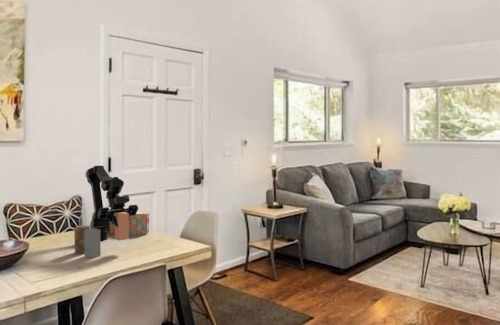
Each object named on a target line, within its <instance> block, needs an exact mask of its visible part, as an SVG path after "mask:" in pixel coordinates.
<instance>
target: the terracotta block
mask: <svg viewBox="0 0 500 325" xmlns="http://www.w3.org/2000/svg"><path fill="white" fill-rule="evenodd" d="M114 215H115V218H116V221H117V223H118V227H116V226H115V235H114V239H115V240H117V241H125V240H129V239H130V235H129V213H127V212H118V213H115V214H114Z"/></svg>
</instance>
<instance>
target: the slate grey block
mask: <svg viewBox="0 0 500 325" xmlns="http://www.w3.org/2000/svg"><path fill="white" fill-rule="evenodd" d="M101 250H102V249H101V241H100V229H95V228H92V229H87V230H85V254H84V257H85V256H86V258H89V257H90V258H89V259H94V258H98V257H101V256H102V255H101V253H102V252H101ZM93 257H94V258H93Z"/></svg>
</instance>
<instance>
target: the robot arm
mask: <svg viewBox="0 0 500 325" xmlns="http://www.w3.org/2000/svg"><path fill="white" fill-rule="evenodd" d="M85 178H86V181H87V182H88V184H89V186H90V188H91V194H92V200H93V201H92V202H93V210H94V212H93V213H94V214H93V213H92V214H93V215H91V221H90V223H89V226H90V229H92V228H95V229H100V242H102V241H106V240H108V239H109V237H107V236H108V235H107V234H108V233H107V231H106V228H108V227H109V221H110V222H112V223H113V224H114V225H115V226H116V227H118V223H117V221H116V218H115V213H118V212H127V213H129V217H130V216H133V215H136V213H137V212H139V207H138V206H139V205H138V204H130V205H128V208H127V207H126V208H124V207H125V206H126V204H127V203H129V201H130V196H129V194H125V195H124V196H123V195H121V196H120V194H121V192H122V189H123V187H124V185H125V182H124V180H122V179H121V178H119V177H118V176H113V177H112V176H110V175H109V173H108V172H107V170H106V169H105V166H104V165H94V166H93V167H90V168H88V169H87V170H86V171H85ZM101 189H102V190H101ZM102 191H103V192H106V197H105V198H106V199H107V201H108V204H109V205H108V207H104V204H103V196H102ZM94 226H95V227H94Z"/></svg>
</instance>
